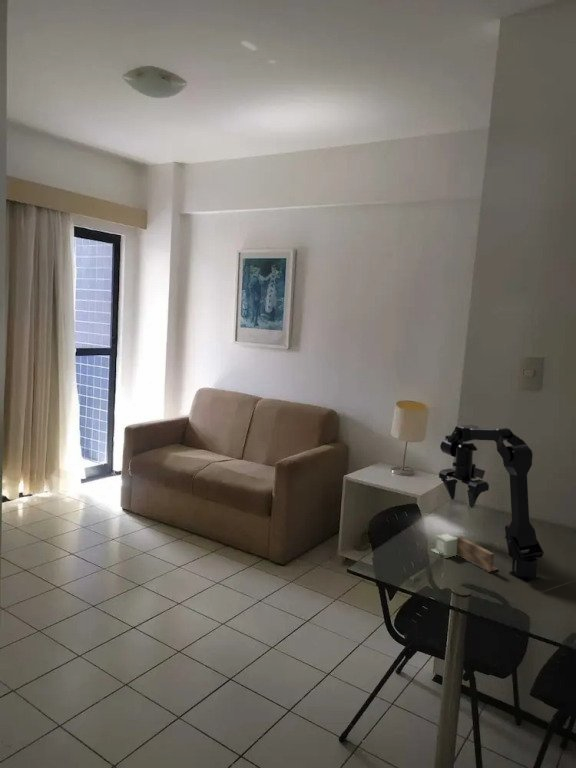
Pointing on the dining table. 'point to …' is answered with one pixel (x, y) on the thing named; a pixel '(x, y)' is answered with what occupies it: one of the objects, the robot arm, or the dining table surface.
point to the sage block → (446, 544)
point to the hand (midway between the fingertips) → (462, 503)
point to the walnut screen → (476, 554)
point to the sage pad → (437, 551)
